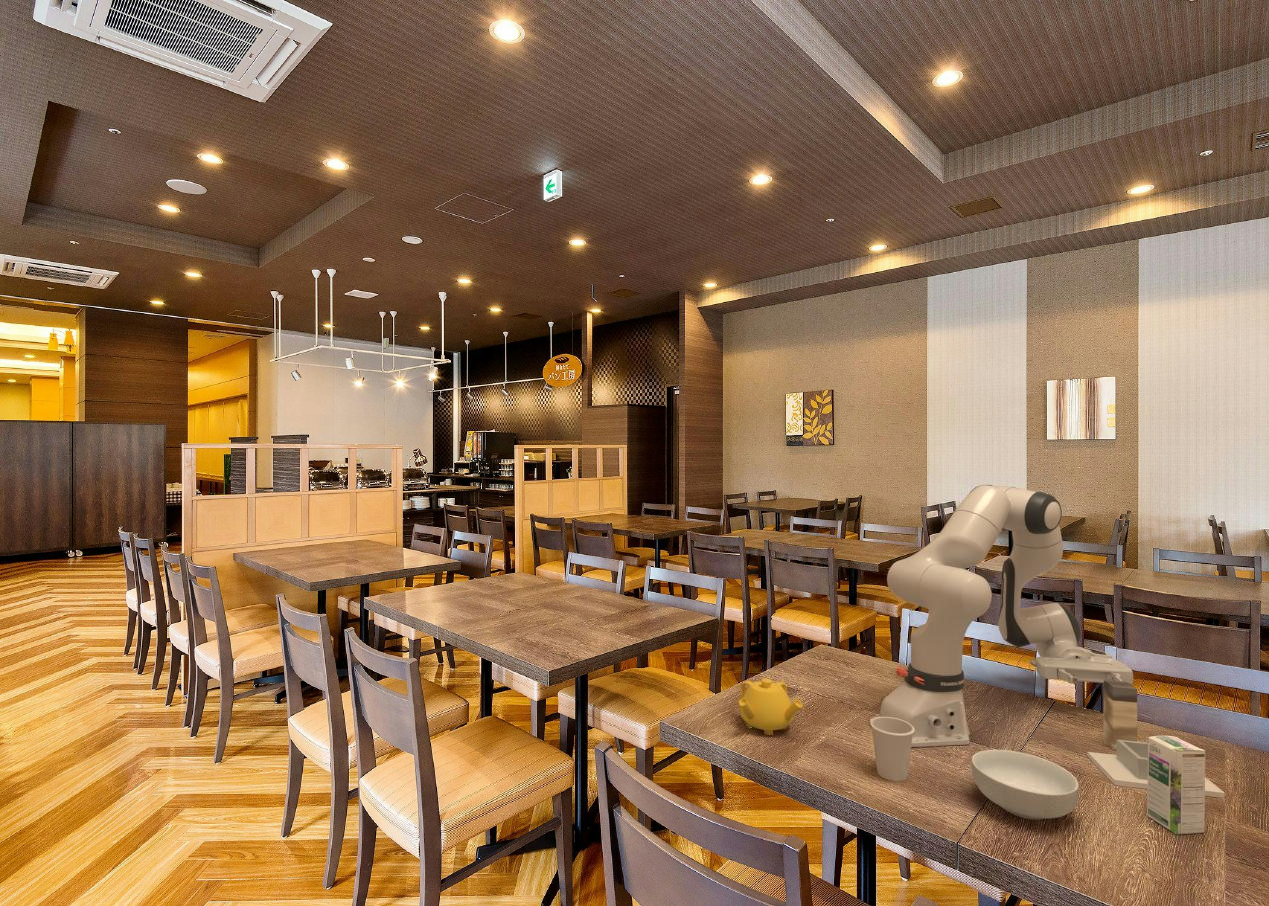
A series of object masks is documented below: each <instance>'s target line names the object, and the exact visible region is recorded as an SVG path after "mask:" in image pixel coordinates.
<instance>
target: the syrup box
mask: <svg viewBox="0 0 1269 906" xmlns="http://www.w3.org/2000/svg"><path fill="white" fill-rule="evenodd" d="M1147 743H1148V789H1147V794H1146V795H1147V800H1146V804H1147V805H1146V816H1147V818H1149V819H1152V820H1153V821H1154V822H1157V823H1158V824H1159V825H1161V826H1162V827H1164V828H1166V829H1168V830H1169V831H1171V832H1172V834H1175V835H1184V834H1185V835H1188V834H1202V833H1205V819H1206V818H1205V816H1206V814H1205V813H1206V811H1205V807H1206V805H1205V804H1206V800H1205V799H1206V796H1205V778H1206V750H1205V749H1203V748H1200V747H1197V746H1195V745H1193V744H1191V743H1190V742H1187V741H1185V740H1183V739H1180V738H1179V737H1177V736H1172V735H1154V736H1148V737H1147Z"/></svg>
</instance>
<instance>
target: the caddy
mask: <svg viewBox="0 0 1269 906" xmlns="http://www.w3.org/2000/svg"><path fill="white" fill-rule="evenodd" d="M1087 758H1088V759H1089V760H1090V761H1091V762H1092V763H1093V764H1094V765H1095V766H1096V767H1097V768H1098V769H1099V770H1100V772H1101V773H1102V774H1103V775H1105V776H1106V777H1107V779H1109V782H1111V783H1112V784H1113V785H1115V786H1120V787H1129V788H1135V789H1137V788H1138V789H1145V790H1148V742H1145V741H1137V742H1136V741H1127V740H1117V751H1116V754H1111V753H1110V754H1109V753H1102V752H1093V751H1087ZM1205 797H1214V798H1219V799H1226V793H1225V792H1224V791H1223V790H1222V789H1221V788H1219V787H1218V786H1217V785H1216V784H1214V783H1213V782H1212V781H1210V780H1209V779H1208V778H1207V777H1205Z"/></svg>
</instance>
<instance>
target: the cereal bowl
mask: <svg viewBox="0 0 1269 906" xmlns="http://www.w3.org/2000/svg"><path fill="white" fill-rule="evenodd" d="M970 764H971V773H972V777H973V780H974V783H975V785H976V786H977V788H978V789H979V791H980V792H981V793H982V794H983V795H984V796H985V797H986V798H988V799H989V800H990V801H991V802H992V803H994V804H995V805H998V806H999V807H1001V809H1003V810H1004V809H1005V811H1006V812H1007V813H1009V812H1010V814H1011V813H1012V814H1011V815H1014V816H1017V817H1019V818H1022V817H1023V819H1028V820H1034V821H1035V820H1044V819H1047V820H1049V819H1056V818H1061V817H1063V816H1064V817H1065V816H1066V815H1068V814H1070V813H1071V812H1072V811H1073V810H1074V808H1075V807H1076V806H1077V804H1078V800H1079V794H1080V784H1079V781H1078V780H1077V778H1076V777H1075V776H1074V775H1073V774H1072V773H1071V772H1070V771H1069V770H1067V769H1065V768H1064V767H1062V766H1060V765H1058V764H1057V763H1054V762H1052V761H1050V760H1048V759H1046V758H1042V757H1039V756H1036V755H1034V754H1029V753H1026V752H1020V751H1015V750H1010V749H1009V750H1007V749H987V750H981V751H978V752H976V753H975V754H973V756H972V757H971V763H970Z"/></svg>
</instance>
